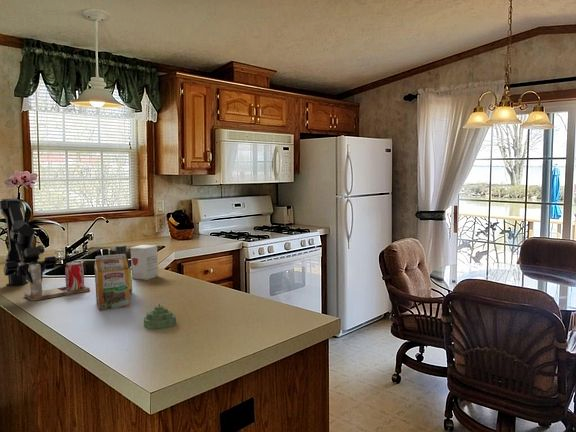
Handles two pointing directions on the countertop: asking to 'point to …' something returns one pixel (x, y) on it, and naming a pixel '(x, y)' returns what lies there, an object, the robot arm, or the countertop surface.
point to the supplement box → (144, 262)
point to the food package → (112, 282)
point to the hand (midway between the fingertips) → (36, 282)
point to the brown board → (43, 294)
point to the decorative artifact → (159, 319)
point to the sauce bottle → (122, 250)
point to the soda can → (74, 276)
